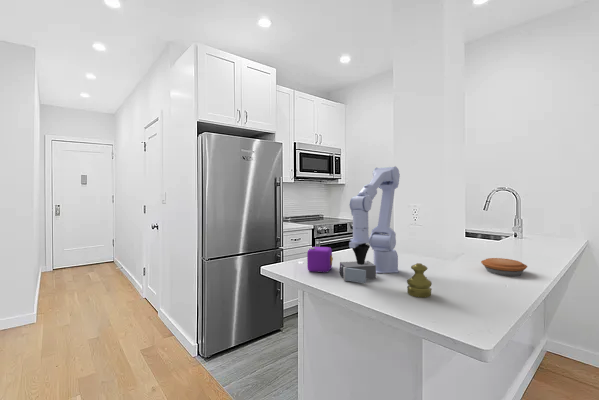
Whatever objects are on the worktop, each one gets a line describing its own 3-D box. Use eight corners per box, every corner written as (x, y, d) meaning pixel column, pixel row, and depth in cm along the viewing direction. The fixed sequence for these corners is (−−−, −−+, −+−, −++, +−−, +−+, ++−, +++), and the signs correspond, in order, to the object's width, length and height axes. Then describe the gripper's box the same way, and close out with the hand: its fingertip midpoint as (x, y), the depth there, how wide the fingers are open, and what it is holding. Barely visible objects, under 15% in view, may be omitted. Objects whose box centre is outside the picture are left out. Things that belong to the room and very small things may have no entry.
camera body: (368, 272, 123) (368, 259, 123) (375, 278, 115) (375, 263, 115) (338, 274, 121) (338, 260, 121) (343, 280, 113) (343, 265, 113)
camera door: (366, 282, 109) (366, 269, 109) (365, 283, 108) (364, 270, 108) (344, 279, 114) (344, 266, 113) (343, 280, 112) (342, 267, 112)
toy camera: (332, 265, 137) (332, 243, 137) (333, 273, 123) (332, 249, 123) (309, 265, 138) (308, 243, 138) (307, 273, 124) (306, 249, 124)
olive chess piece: (429, 299, 92) (429, 267, 92) (404, 295, 96) (404, 264, 96) (433, 292, 99) (433, 262, 98) (409, 289, 102) (409, 260, 102)
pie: (527, 280, 111) (527, 266, 111) (478, 273, 120) (479, 261, 120) (527, 271, 123) (527, 259, 123) (483, 265, 132) (483, 254, 132)
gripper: (359, 225, 120) (359, 259, 120) (341, 229, 108) (341, 266, 108) (376, 226, 115) (376, 261, 116) (359, 230, 104) (359, 269, 104)
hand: (360, 264), depth 112 cm, fingers closed
